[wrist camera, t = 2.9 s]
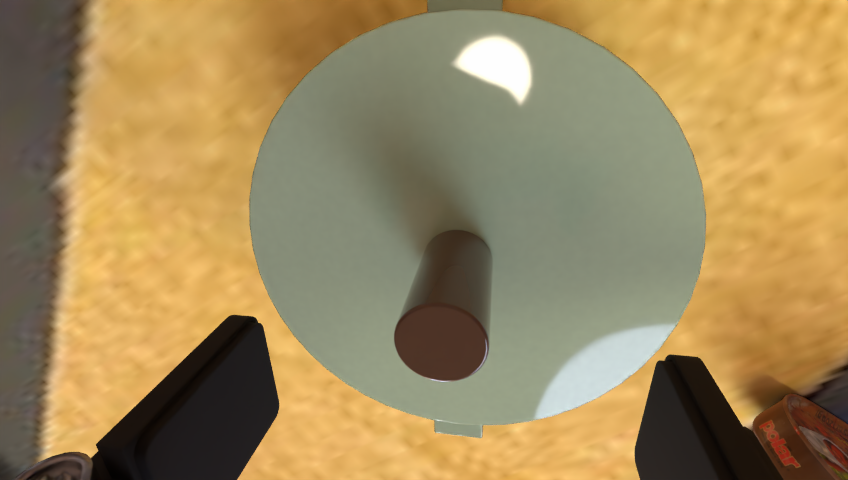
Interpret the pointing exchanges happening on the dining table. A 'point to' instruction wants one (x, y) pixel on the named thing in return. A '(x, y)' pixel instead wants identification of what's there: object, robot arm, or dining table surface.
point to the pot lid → (477, 217)
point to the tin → (803, 440)
